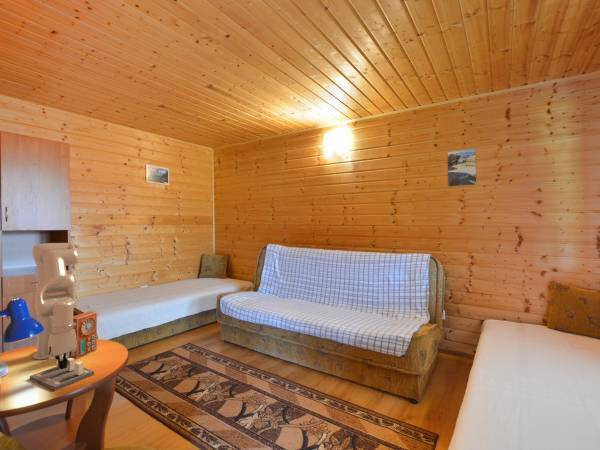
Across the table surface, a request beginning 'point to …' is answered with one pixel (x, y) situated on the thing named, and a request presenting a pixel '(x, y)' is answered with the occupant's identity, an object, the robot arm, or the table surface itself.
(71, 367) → the block
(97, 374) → the table surface
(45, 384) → the breaker panel
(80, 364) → the block
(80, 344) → the control panel
